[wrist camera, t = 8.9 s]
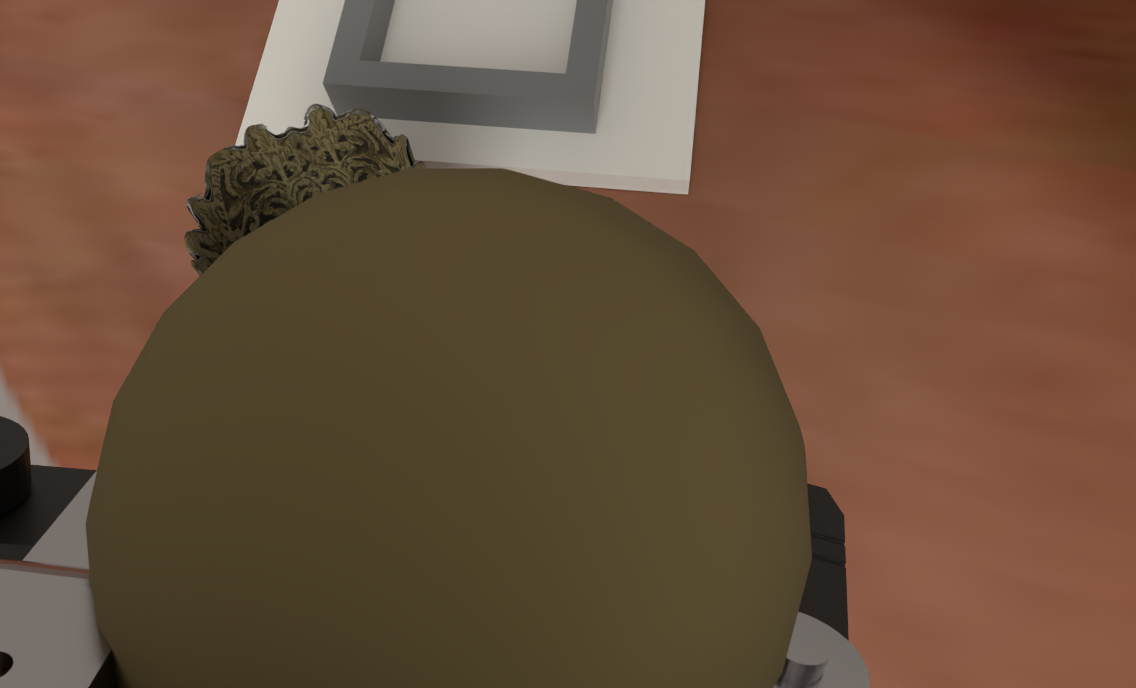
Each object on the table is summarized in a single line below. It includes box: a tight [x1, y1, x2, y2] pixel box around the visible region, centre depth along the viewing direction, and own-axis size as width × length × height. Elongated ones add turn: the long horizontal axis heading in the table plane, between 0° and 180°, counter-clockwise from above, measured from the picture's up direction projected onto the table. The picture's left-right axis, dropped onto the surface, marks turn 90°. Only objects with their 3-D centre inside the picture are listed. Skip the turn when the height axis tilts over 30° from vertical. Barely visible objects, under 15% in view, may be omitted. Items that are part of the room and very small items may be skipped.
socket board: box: [235, 0, 705, 195], centre depth 39 cm, size 18×14×3 cm
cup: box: [185, 104, 426, 276], centre depth 32 cm, size 8×7×8 cm
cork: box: [86, 168, 812, 688], centre depth 11 cm, size 6×6×11 cm
